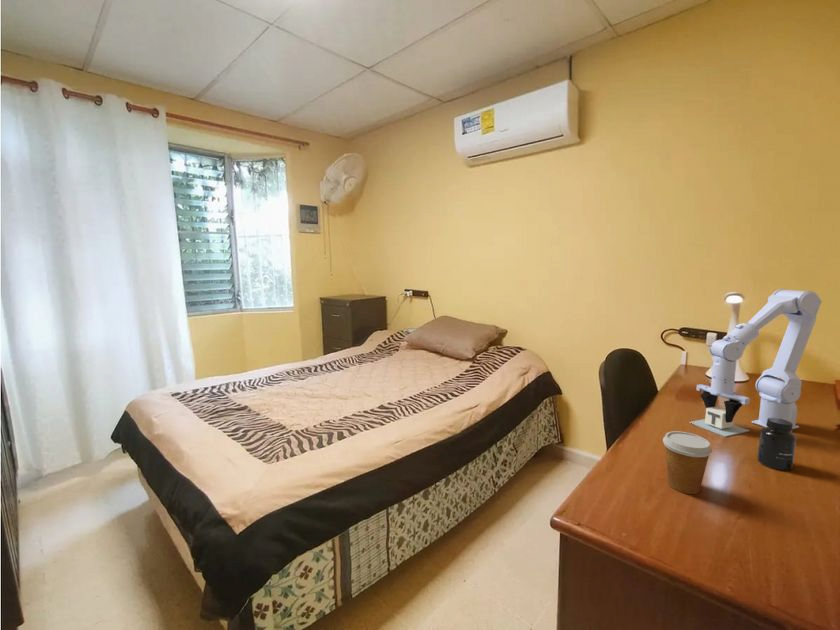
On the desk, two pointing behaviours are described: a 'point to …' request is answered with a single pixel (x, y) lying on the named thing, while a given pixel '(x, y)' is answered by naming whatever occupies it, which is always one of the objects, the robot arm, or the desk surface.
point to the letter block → (717, 417)
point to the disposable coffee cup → (686, 460)
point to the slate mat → (722, 432)
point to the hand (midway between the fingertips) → (719, 418)
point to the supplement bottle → (777, 444)
